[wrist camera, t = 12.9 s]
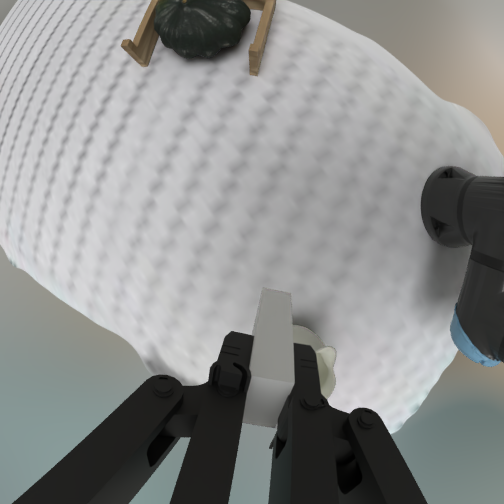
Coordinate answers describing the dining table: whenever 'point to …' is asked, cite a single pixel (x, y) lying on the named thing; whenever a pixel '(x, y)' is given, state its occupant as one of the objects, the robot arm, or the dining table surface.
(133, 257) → the dining table surface
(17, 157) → the dining table surface
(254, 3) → the rack
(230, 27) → the squash
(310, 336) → the pitcher
